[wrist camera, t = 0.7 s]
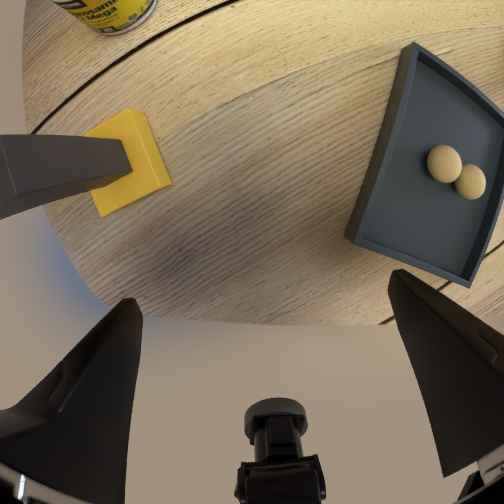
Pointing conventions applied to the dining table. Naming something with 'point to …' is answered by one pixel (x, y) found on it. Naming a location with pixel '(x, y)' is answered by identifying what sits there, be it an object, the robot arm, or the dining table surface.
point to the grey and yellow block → (82, 166)
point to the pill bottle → (109, 13)
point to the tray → (420, 179)
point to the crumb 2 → (470, 182)
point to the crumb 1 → (444, 163)
